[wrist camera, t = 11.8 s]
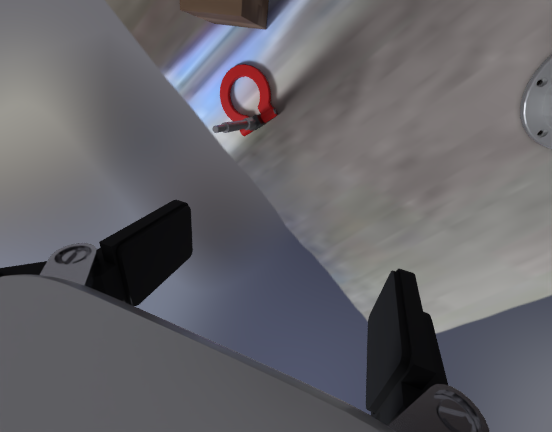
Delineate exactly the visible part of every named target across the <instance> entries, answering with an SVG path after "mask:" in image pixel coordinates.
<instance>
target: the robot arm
mask: <svg viewBox="0 0 552 432" xmlns="http://www.w3.org/2000/svg"><path fill="white" fill-rule="evenodd" d="M538 80H540V83H539V84H538V85H537V81H538ZM520 119H521V122H522V125H523V128H524V129H525V131H526V133H527V134H528V136H529V137H531V138H532V139H533V140H534V141H535V142H536V143H538V144H540V145H542V146H544V147H546V148H550V149H552V54H551V55H550V56H549V57H548V58H547V59H546V60H545V61H544V62H543V63H542V65H541V66H540V67H539V68H538V69H537V70H536V72H535V73H534V75H533V76H532V78H531V79H530V81H529V83H528V84H527V86H526V89H525V91H524V94H523V96H522V101H521V106H520ZM540 130H541V133H540V134H538V132H539V131H540ZM99 243H100V247H101V248H99V249H97V250H96V248H95V246H93V245H91V244H87V243H78V244H72V245H68V246H65V247H63V248H61V249H59V250H57V251H56V252H54V253H53V254H52V255H51V256H50V258H49V259H48V261H45V262H39V263H33V264H25V265H19V266H12V267H5V268H0V432H489V428H488V425H487V423H486V420H485V418H484V417H483V415H482V414H481V412H480V411H479V409H478V408H477V407H476V406H475V404H474V403H473V402H472V401H471V400H470V399H469V398H468V397H466V396H465V395H464V394H463V393H462V392H460V391H458V390H457V389H455V388H453V387H451V386H448V383H447V379H446V375H445V371H444V367H443V362H442V358H441V354H440V350H439V346H438V343H437V339H436V334H435V330H434V326H433V322H432V319H431V316H430V315H429V314H428V313H425V312H423V309H422V305H421V300H420V295H419V291H418V286H417V282H416V277H415V274H414V273H411V272H408V271H405V270H402V269H398V270H397V271H391V273H390V274H389V277H388V279H387V281H386V283H385V285H384V287H383V289H382V291H381V293H380V295H379V297H378V299H377V301H376V303H375V305H374V307H373V309H372V311H371V313H370V316H369V319H368V341H367V342H368V343H367V379H366V381H367V382H366V409H367V410H369V411H371V415H369V414H367V413H365V412H363V411H361V410H359V409H357V408H356V407H353V406H352V405H350V404H348V403H346V402H344V401H342V400H340V399H338V398H336V397H334V396H331V395H329V394H327V393H325V392H323V391H321V390H319V389H316V388H314V387H312V386H310V385H308V384H306V383H304V382H302V381H300V380H297V379H295V378H293V377H291V376H289V375H286V374H284V373H282V372H279V371H278V370H275V369H273V368H271V367H268V366H266V365H264V364H262V363H260V362H258V361H256V360H253V359H251V358H249V357H247V356H244V355H242V354H240V353H238V352H235V351H233V350H231V349H229V348H227V347H224V346H222V345H220V344H218V343H215V342H213V341H211V340H209V339H207V338H204V337H202V336H199V335H198V334H195V333H193V332H191V331H189V330H186V329H184V328H182V327H180V326H177V325H175V324H173V323H170V322H168V321H166V320H163V319H162V318H159V317H157V316H155V315H152V314H150V313H148V312H146V311H143V310H141V309H139V308H136V307H134V306H137V305H139V304H140V303H141V302H142V301H143V300H144V299H145V298H146V297H147V296H149V295H150V294H151V293H152V292H153V291H154V290H155V289H156V288H157V287H158V286H159V285H160V284H162V283H163V282H164V281H165V280H166V279H167V278H168V277H169V276H170V275H171V274H172V273H174V272H175V271H176V270H177V269H178V268H179V267H180V266H181V265H182V264H183V263H184V262H185V261H186V260H188V259H189V258H190V256H191V255H192V250H193V249H192V227H191V209H190V207H189V206H188V204H187V203H185V202H182V201H179V200H173V201H171V202H170V203H168V204H166V205H164V206H163V207H161V208H159V209H157V210H155V211H154V212H152V213H150V214H148V215H147V216H145V217H143V218H141V219H140V220H138V221H136V222H134V223H132V224H131V225H129V226H127V227H125V228H123V229H122V230H120V231H118V232H116V233H115V234H113V235H111V236H109V237H107V238H106V239H104V240H102V241H100V242H99Z"/></svg>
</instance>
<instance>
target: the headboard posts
mask: <svg viewBox="0 0 552 432" xmlns="http://www.w3.org/2000/svg"><path fill="white" fill-rule="evenodd" d="M268 2H269V0H180V10H182V11H184V12H187V13H189V14H192V15H194V16H197V17H199V18H202V19H204V20H207V21H209V22H212V23H214V24H222V25H231V26H239V27H248V28H257V29H266V24H267V13H268Z"/></svg>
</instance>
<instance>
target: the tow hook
mask: <svg viewBox="0 0 552 432" xmlns="http://www.w3.org/2000/svg"><path fill="white" fill-rule="evenodd" d="M244 76H247V77H249V78H251V79H253V80H254V82H255V83H256V84H257V86H258V88H259V91H260V102H259V105H258V109H259V111H260V113H261V114H259V115H254V116H253V117H250V118H249V116H247V115H242V114H240V113H239V112H237V111H236V110H235V109H234V107H233V105H232V102H231V98H230V92H231V87H232V85H233V83H234V82H235V81H236V80H237V79H238V78H240V77H244ZM220 99H221V104H222V107H223V109H224V111H225V113H226V114H227V116H228V117H229V118H230V119H231V120H232V121H233V122H225V123H222V124H221V125H217V126H214V127H213V131H214V132H215V133H217V132H224V133H227V132H232V131H237V130H240V132H241V134H242V135H243V136H246V135H248V134H249V133H251V132H252V131H254V130H257V129H258V128H260V127H261V126H263V125H264V124H266V122H268V121H269V120H271V119H273V118H274V117H276V116H277V111H276V110H275V108H274V107H272V105H271V103H270V101H271V91H270V87H269V83H268V81H267V79H266V78H265V76H264V75H263V74H262V72H261V71H260V70H258V69H257V68H255V67H253V66H250V65H246V64H242V65H237V66H235V67H233V68H231V69H230V70H229V71H228V72H227V73H226V75H225V76H224V78H223V80H222V83H221V87H220Z"/></svg>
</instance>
